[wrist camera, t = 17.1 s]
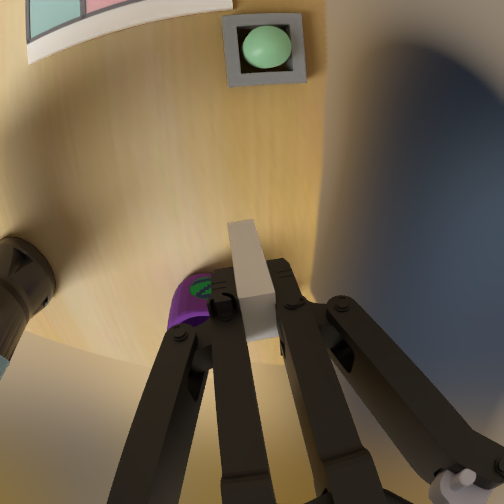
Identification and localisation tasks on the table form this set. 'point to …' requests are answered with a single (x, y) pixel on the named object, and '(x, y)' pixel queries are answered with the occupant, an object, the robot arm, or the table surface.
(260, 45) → the button
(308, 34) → the table surface
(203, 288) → the mug
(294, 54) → the button housing
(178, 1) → the colored panel board
